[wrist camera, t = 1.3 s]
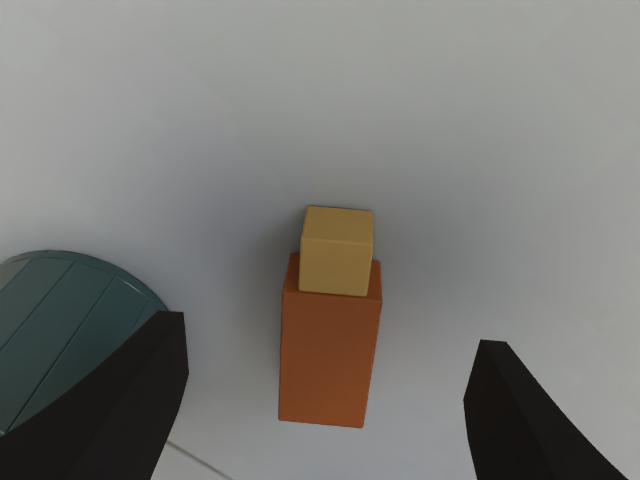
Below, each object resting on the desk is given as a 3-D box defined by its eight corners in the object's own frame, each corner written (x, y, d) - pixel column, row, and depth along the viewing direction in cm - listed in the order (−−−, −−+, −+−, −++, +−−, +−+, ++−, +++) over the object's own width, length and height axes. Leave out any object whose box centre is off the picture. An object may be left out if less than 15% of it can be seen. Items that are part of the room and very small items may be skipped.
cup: (191, 417, 24) (128, 601, 17) (3, 400, 24) (-127, 574, 18) (176, 260, 20) (85, 427, 13) (-52, 240, 20) (-251, 395, 13)
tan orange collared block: (363, 381, 22) (363, 429, 20) (285, 374, 22) (277, 421, 20) (387, 210, 18) (391, 247, 16) (292, 201, 18) (283, 238, 16)
